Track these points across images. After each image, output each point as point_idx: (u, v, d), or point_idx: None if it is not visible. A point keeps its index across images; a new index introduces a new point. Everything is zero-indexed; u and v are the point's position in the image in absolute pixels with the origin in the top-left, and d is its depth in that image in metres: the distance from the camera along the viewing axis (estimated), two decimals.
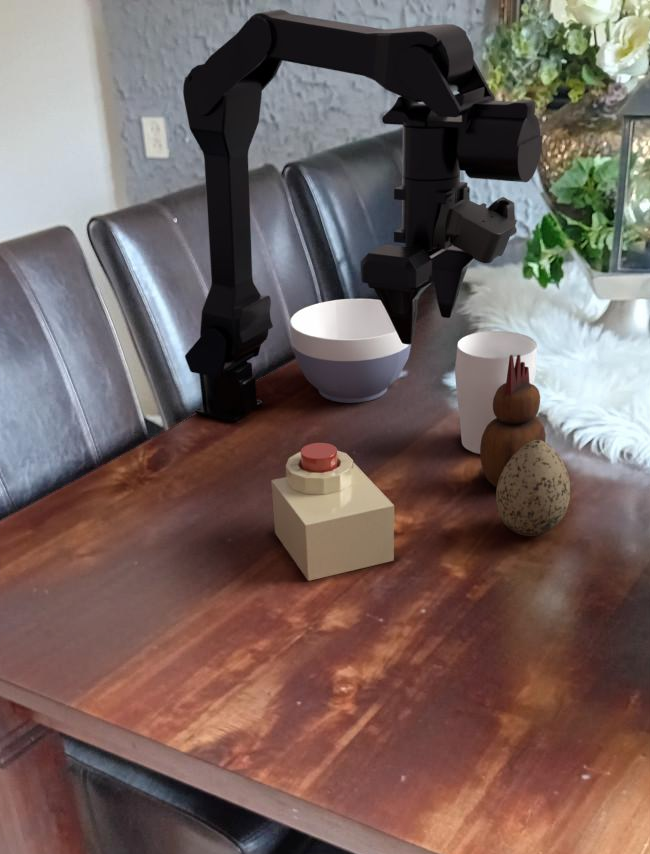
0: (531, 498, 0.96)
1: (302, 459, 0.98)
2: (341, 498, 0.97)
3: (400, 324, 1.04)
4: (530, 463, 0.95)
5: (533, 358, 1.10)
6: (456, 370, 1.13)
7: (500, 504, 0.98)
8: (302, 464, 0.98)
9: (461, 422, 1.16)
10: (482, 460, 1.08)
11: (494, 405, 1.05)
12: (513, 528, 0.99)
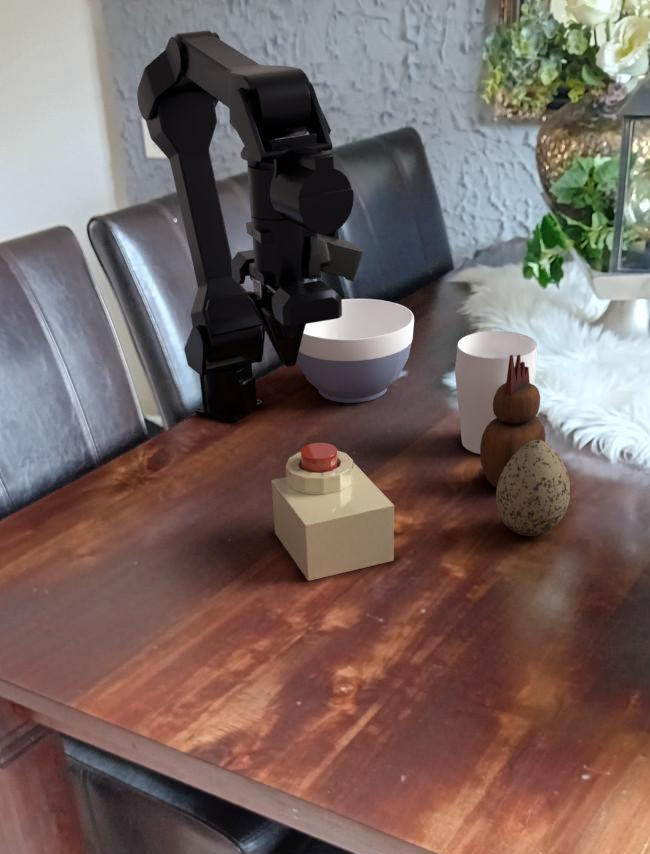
0: (531, 498, 0.96)
1: (302, 459, 0.98)
2: (341, 498, 0.97)
3: (288, 348, 1.07)
4: (530, 463, 0.95)
5: (533, 358, 1.10)
6: (456, 370, 1.13)
7: (500, 504, 0.98)
8: (302, 464, 0.98)
9: (461, 422, 1.16)
10: (482, 460, 1.08)
11: (494, 405, 1.05)
12: (513, 528, 0.99)
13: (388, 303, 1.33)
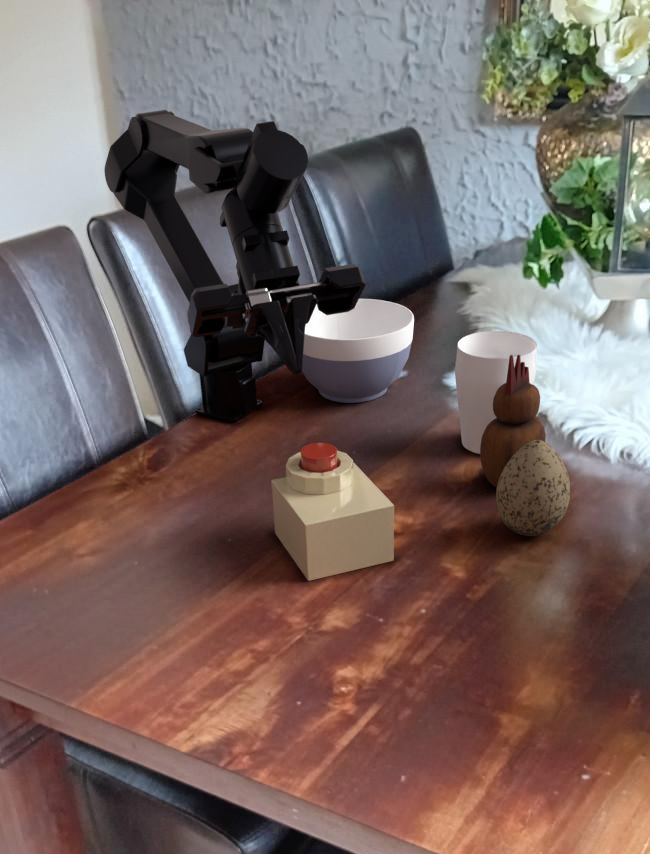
0: (531, 498, 0.96)
1: (302, 459, 0.98)
2: (341, 498, 0.97)
3: None
4: (530, 463, 0.95)
5: (533, 358, 1.10)
6: (456, 370, 1.13)
7: (500, 504, 0.98)
8: (302, 464, 0.98)
9: (461, 422, 1.16)
10: (482, 460, 1.08)
11: (494, 405, 1.05)
12: (513, 528, 0.99)
13: (388, 303, 1.33)
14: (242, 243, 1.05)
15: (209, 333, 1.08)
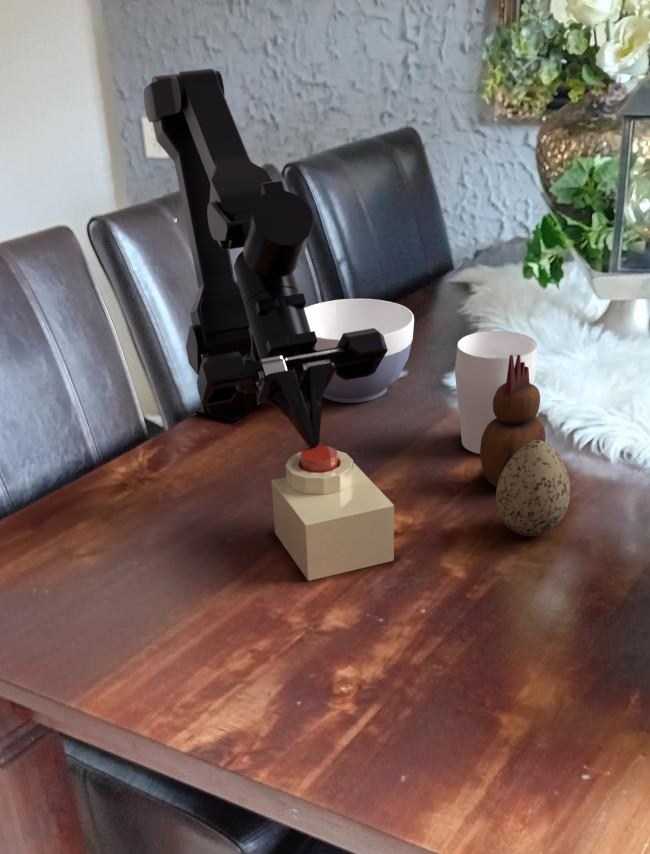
0: (531, 498, 0.96)
1: (302, 462, 0.98)
2: (341, 498, 0.97)
3: None
4: (530, 463, 0.95)
5: (533, 358, 1.10)
6: (456, 370, 1.13)
7: (500, 504, 0.98)
8: (302, 467, 0.98)
9: (461, 422, 1.16)
10: (482, 460, 1.08)
11: (494, 405, 1.05)
12: (513, 528, 0.99)
13: (388, 303, 1.33)
14: (255, 307, 0.99)
15: (220, 401, 1.01)
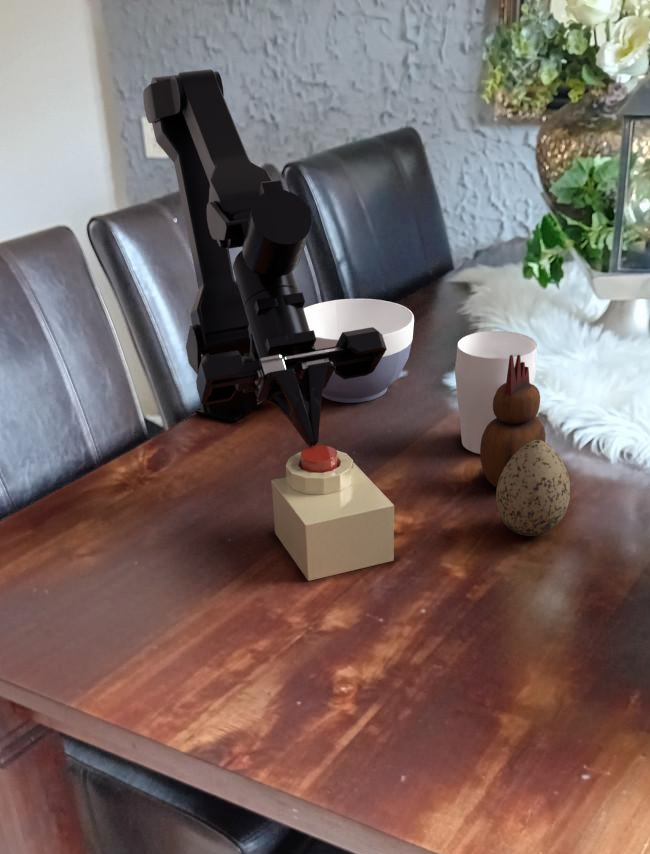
0: (531, 498, 0.96)
1: (302, 462, 0.98)
2: (341, 498, 0.97)
3: None
4: (530, 463, 0.95)
5: (533, 358, 1.10)
6: (456, 370, 1.13)
7: (500, 504, 0.98)
8: (302, 466, 0.98)
9: (461, 422, 1.16)
10: (482, 460, 1.08)
11: (494, 405, 1.05)
12: (513, 528, 0.99)
13: (388, 303, 1.33)
14: (255, 306, 0.99)
15: (219, 400, 1.01)
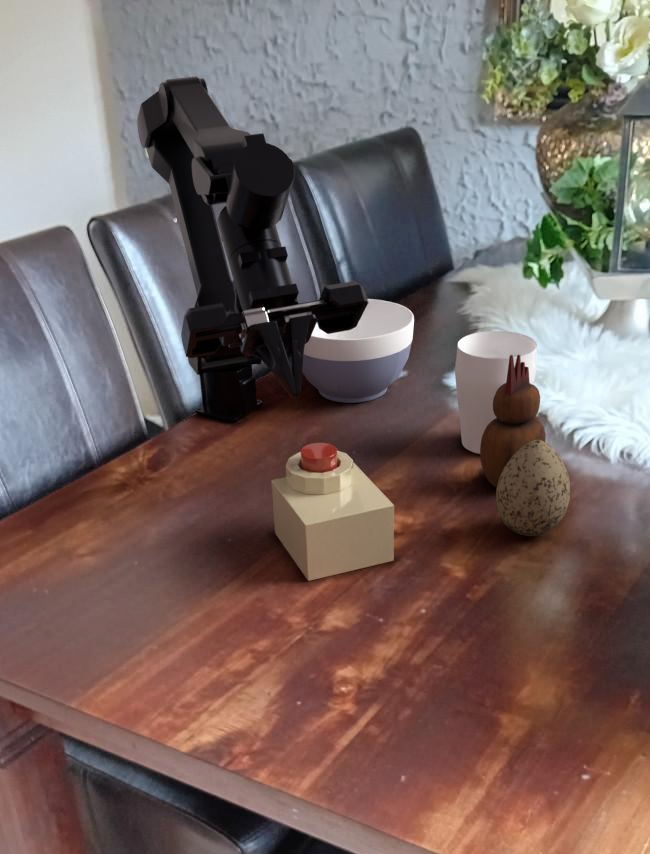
0: (531, 498, 0.96)
1: (302, 459, 0.98)
2: (341, 498, 0.97)
3: None
4: (530, 463, 0.95)
5: (533, 358, 1.10)
6: (456, 370, 1.13)
7: (500, 504, 0.98)
8: (302, 464, 0.98)
9: (461, 422, 1.16)
10: (482, 460, 1.08)
11: (494, 405, 1.05)
12: (513, 528, 0.99)
13: (388, 303, 1.33)
14: (238, 260, 1.01)
15: (204, 354, 1.03)
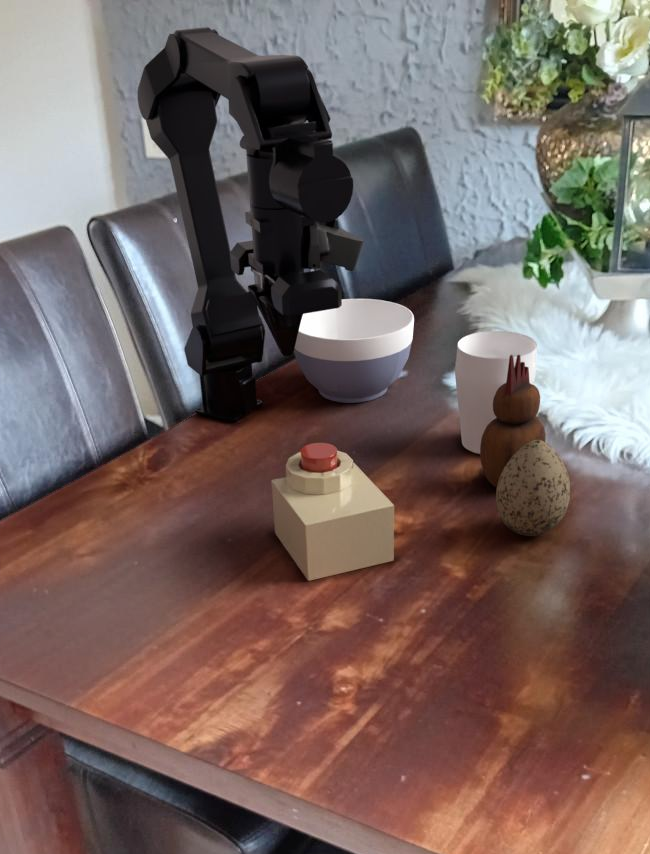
0: (531, 498, 0.96)
1: (302, 459, 0.98)
2: (341, 498, 0.97)
3: (286, 337, 1.07)
4: (530, 463, 0.95)
5: (533, 358, 1.10)
6: (456, 370, 1.13)
7: (500, 504, 0.98)
8: (302, 464, 0.98)
9: (461, 422, 1.16)
10: (482, 460, 1.08)
11: (494, 405, 1.05)
12: (513, 528, 0.99)
13: (388, 303, 1.33)
14: None
15: None
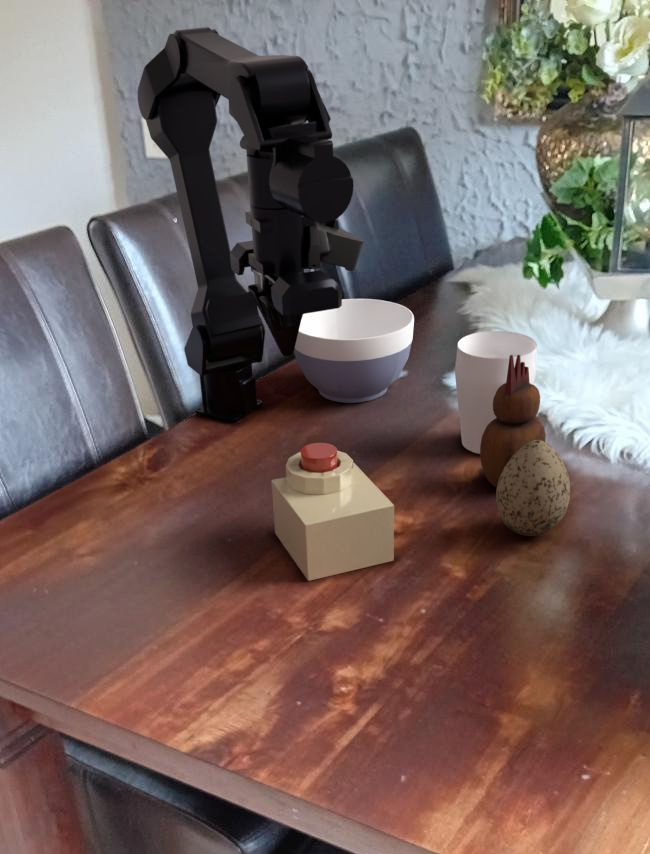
0: (531, 498, 0.96)
1: (302, 459, 0.98)
2: (341, 498, 0.97)
3: (286, 337, 1.07)
4: (530, 463, 0.95)
5: (533, 358, 1.10)
6: (456, 370, 1.13)
7: (500, 504, 0.98)
8: (302, 464, 0.98)
9: (461, 422, 1.16)
10: (482, 460, 1.08)
11: (494, 405, 1.05)
12: (513, 528, 0.99)
13: (388, 303, 1.33)
14: None
15: None
